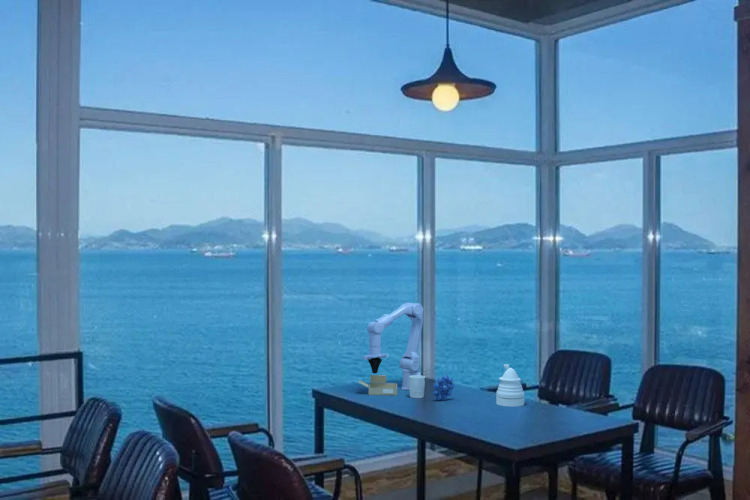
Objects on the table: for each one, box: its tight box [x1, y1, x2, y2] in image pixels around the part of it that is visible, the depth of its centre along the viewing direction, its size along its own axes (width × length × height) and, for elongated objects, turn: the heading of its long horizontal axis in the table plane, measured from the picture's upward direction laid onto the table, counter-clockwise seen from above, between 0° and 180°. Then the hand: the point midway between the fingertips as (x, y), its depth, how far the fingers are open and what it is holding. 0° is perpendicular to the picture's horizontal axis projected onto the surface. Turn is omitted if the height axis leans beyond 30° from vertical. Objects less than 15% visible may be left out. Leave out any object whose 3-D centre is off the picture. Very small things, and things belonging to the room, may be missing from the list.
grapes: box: [432, 374, 455, 401], centre depth 366 cm, size 12×7×12 cm, turn 117°
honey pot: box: [495, 363, 525, 408], centre depth 358 cm, size 13×13×18 cm
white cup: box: [409, 374, 426, 399], centre depth 373 cm, size 8×8×10 cm
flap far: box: [358, 379, 369, 388], centre depth 382 cm, size 1×8×5 cm
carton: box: [368, 382, 398, 396], centre depth 384 cm, size 14×14×4 cm
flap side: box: [369, 374, 387, 383], centre depth 390 cm, size 8×1×5 cm
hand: (374, 373), depth 383 cm, fingers closed
